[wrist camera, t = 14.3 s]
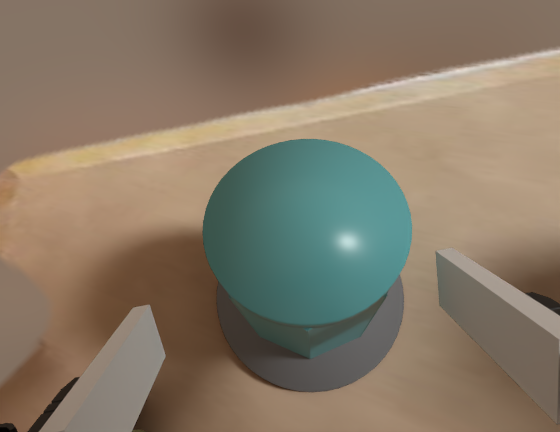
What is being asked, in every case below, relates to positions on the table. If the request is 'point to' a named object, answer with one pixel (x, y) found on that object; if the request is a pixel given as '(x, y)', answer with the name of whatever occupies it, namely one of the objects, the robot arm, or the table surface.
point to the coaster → (323, 368)
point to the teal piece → (307, 241)
